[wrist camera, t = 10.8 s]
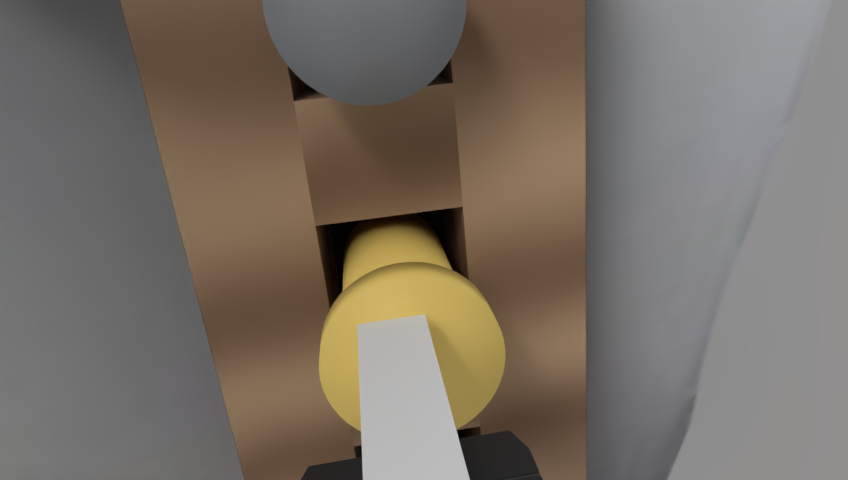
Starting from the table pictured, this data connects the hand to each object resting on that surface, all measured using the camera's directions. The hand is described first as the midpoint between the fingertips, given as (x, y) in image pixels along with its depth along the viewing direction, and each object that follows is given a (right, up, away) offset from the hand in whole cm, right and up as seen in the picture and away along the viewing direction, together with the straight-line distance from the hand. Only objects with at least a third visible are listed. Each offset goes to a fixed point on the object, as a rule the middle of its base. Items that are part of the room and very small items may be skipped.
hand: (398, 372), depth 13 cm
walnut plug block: (-1, +3, +10) cm, 10 cm away
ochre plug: (0, +2, +7) cm, 8 cm away
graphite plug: (-1, +10, +6) cm, 12 cm away
